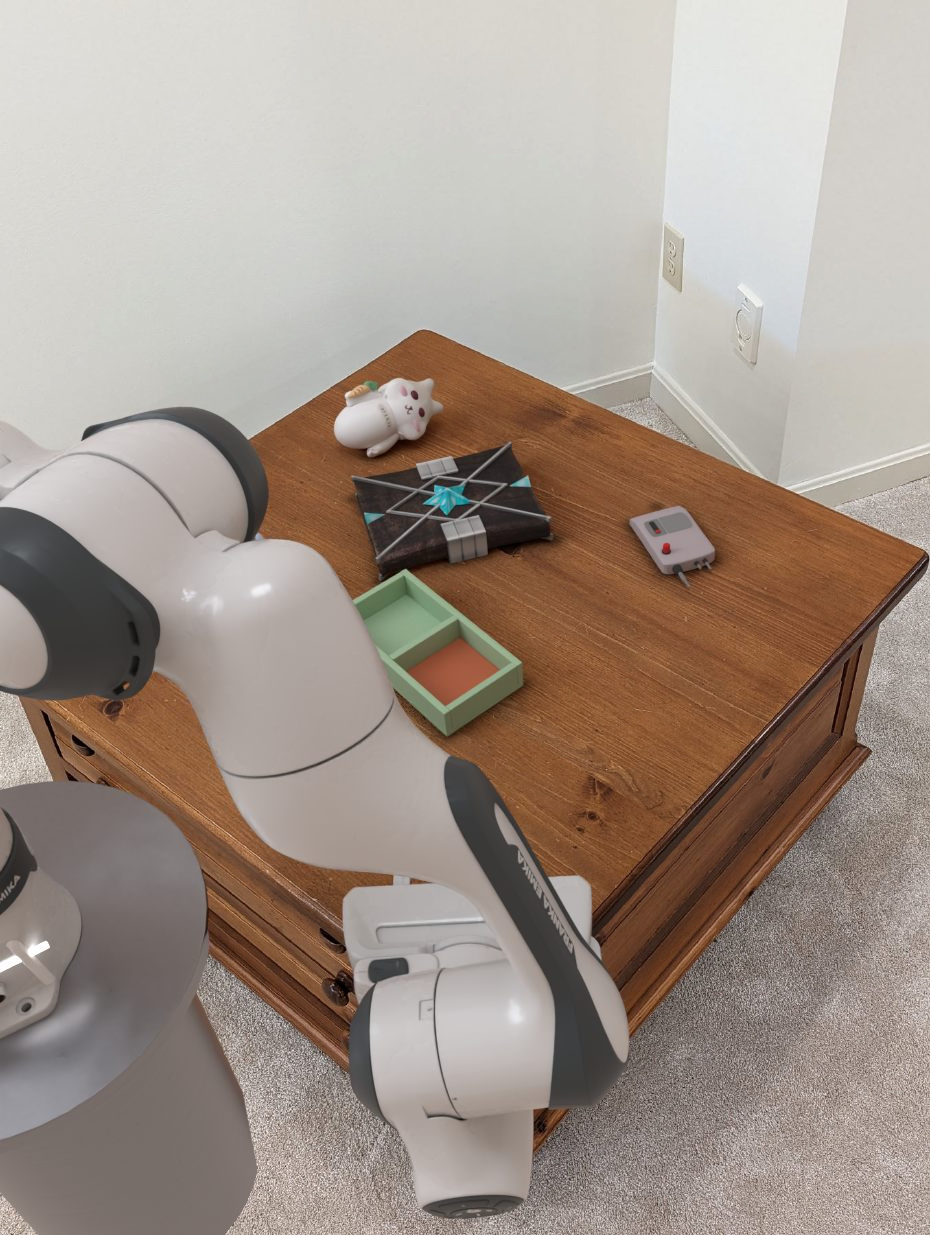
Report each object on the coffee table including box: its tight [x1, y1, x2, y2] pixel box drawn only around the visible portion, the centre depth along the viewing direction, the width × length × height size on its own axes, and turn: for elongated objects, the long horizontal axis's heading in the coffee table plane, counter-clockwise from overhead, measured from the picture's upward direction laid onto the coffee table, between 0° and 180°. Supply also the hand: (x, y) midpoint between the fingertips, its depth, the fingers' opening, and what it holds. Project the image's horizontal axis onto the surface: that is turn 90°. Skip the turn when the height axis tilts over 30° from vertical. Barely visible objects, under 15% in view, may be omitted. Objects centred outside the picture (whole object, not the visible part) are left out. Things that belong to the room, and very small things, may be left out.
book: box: [350, 441, 554, 582], centre depth 148 cm, size 22×17×5 cm
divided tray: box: [352, 569, 524, 737], centre depth 132 cm, size 11×20×4 cm, turn 39°
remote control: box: [629, 505, 716, 589], centre depth 142 cm, size 7×16×3 cm, turn 18°
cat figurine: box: [333, 377, 444, 458], centre depth 161 cm, size 10×8×15 cm
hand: (466, 843), depth 102 cm, fingers closed on beverage cup, 7 cm apart
